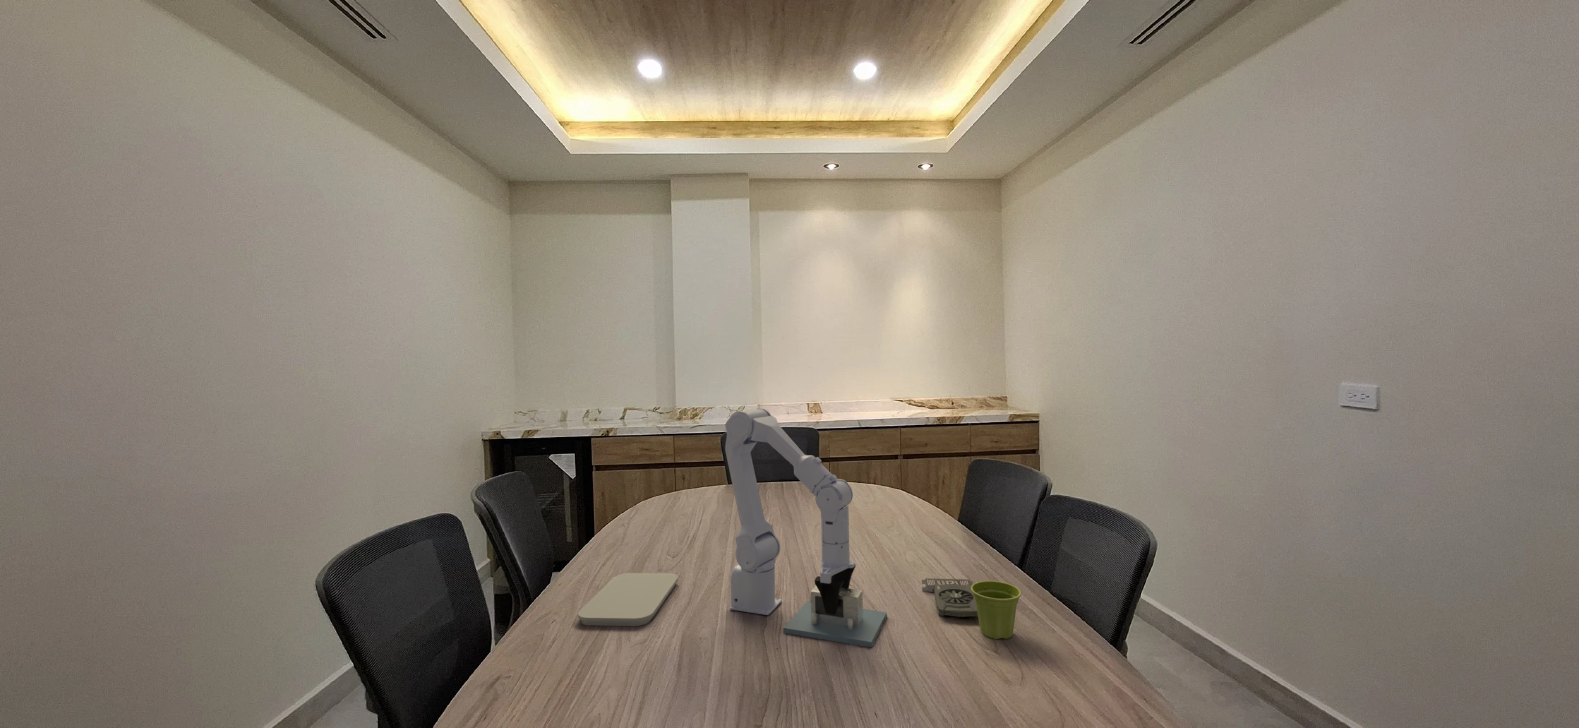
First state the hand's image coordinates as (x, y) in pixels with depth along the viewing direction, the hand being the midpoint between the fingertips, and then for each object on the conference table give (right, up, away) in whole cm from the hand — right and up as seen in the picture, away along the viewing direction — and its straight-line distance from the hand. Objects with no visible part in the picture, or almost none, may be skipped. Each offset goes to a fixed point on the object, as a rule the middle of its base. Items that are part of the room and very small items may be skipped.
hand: (836, 605), depth 120 cm
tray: (0, -4, 0) cm, 4 cm away
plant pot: (+31, -4, -5) cm, 32 cm away
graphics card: (+26, -4, +9) cm, 28 cm away
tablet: (-46, -5, +14) cm, 48 cm away
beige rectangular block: (0, -3, 0) cm, 3 cm away
